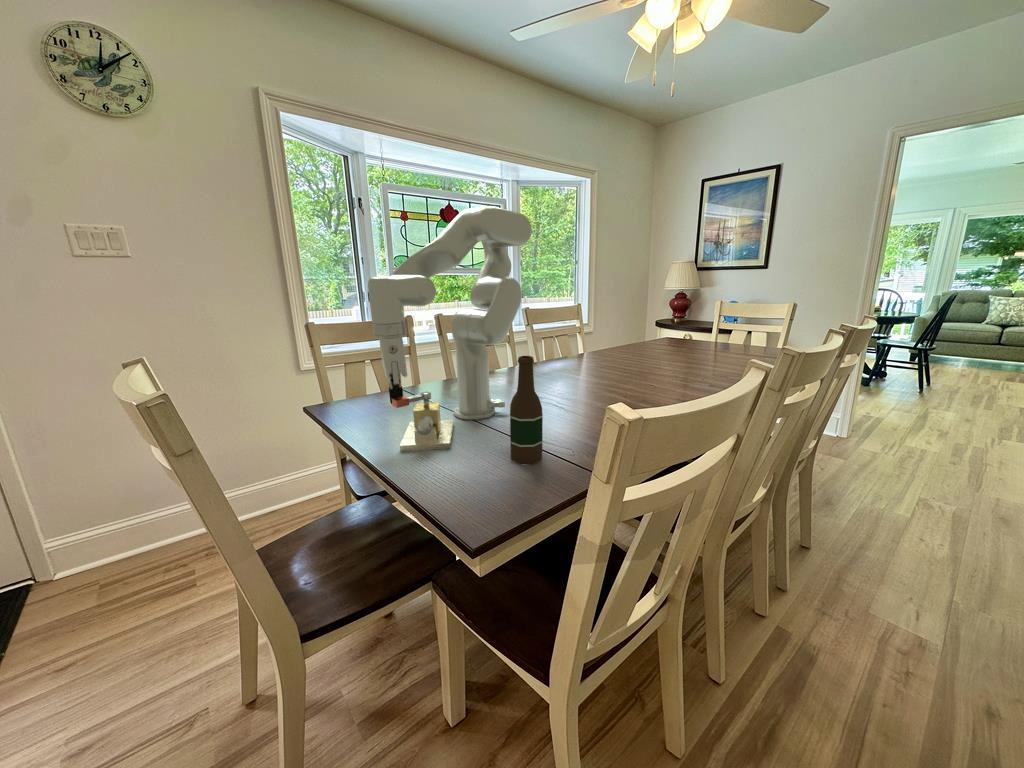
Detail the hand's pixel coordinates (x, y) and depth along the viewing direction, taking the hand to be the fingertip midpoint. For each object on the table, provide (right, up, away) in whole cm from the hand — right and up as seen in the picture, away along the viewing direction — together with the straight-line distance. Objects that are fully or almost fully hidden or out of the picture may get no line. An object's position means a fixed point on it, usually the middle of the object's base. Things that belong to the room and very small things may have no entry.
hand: (397, 402), depth 100 cm
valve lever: (+4, 0, 0) cm, 4 cm away
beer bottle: (+32, -13, -8) cm, 36 cm away
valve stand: (+7, -9, +5) cm, 13 cm away
